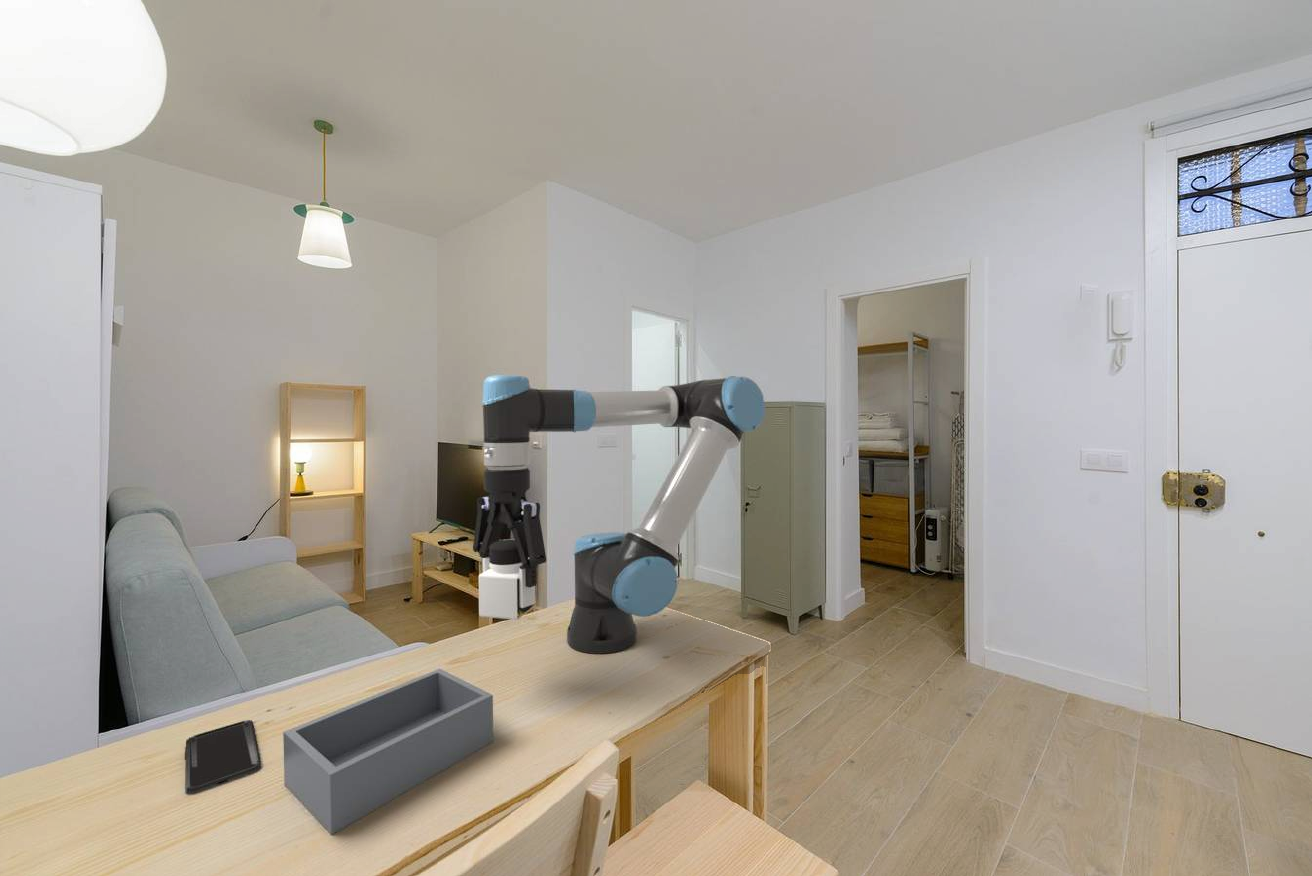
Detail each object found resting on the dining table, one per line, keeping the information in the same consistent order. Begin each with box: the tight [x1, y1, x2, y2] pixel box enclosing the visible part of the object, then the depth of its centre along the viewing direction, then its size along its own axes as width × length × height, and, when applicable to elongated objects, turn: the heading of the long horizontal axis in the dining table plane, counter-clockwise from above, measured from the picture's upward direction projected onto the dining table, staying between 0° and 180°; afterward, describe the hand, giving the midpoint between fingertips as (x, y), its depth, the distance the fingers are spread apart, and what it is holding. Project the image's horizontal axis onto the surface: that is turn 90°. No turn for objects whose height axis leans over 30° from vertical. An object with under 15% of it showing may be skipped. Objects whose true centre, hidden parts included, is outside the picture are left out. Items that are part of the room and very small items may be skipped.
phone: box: [184, 719, 262, 796], centre depth 74 cm, size 8×1×15 cm
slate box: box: [282, 668, 494, 836], centre depth 73 cm, size 22×14×7 cm, turn 143°
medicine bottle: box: [478, 538, 537, 621], centre depth 89 cm, size 7×7×12 cm
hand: (508, 599), depth 89 cm, fingers closed on medicine bottle, 9 cm apart
